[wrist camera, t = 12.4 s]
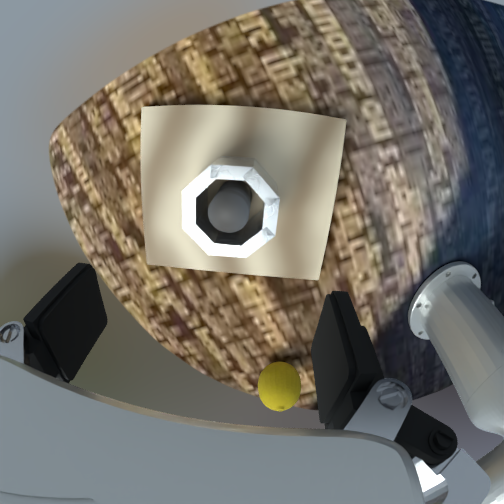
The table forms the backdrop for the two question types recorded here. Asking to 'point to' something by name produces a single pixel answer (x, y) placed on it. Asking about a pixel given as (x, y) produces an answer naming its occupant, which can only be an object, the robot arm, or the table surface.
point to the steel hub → (256, 227)
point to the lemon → (279, 386)
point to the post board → (241, 137)
